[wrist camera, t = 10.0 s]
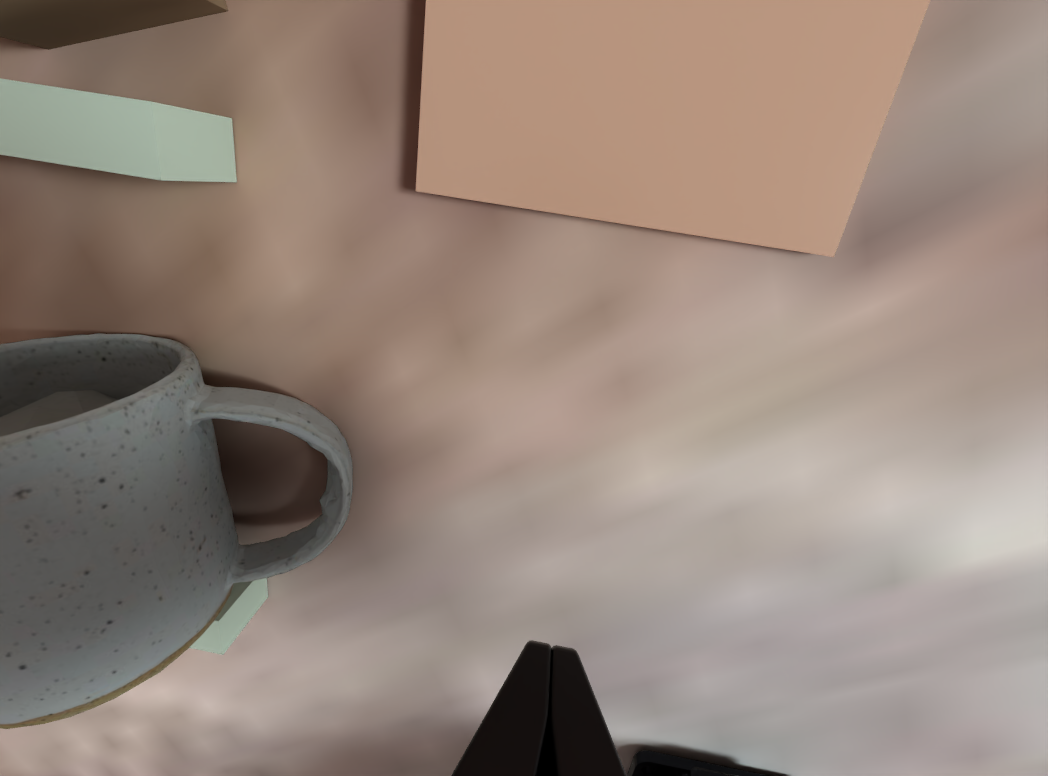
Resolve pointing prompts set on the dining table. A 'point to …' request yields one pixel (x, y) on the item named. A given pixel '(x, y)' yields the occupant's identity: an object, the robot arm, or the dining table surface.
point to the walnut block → (93, 18)
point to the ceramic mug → (125, 514)
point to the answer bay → (138, 150)
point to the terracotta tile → (664, 110)
